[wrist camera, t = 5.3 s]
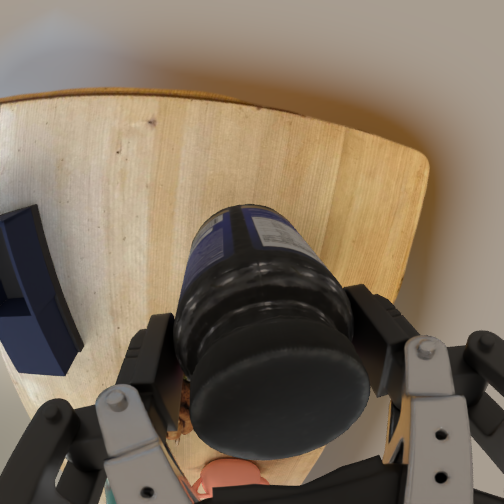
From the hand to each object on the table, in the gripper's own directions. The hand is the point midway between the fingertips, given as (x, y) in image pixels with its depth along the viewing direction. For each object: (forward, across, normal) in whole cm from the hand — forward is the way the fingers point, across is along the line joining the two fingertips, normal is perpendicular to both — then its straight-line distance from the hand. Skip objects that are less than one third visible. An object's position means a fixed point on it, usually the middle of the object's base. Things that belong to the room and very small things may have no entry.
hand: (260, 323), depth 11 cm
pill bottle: (+7, 0, 0) cm, 7 cm away
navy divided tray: (+22, +28, +6) cm, 36 cm away
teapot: (+22, +8, +52) cm, 57 cm away
